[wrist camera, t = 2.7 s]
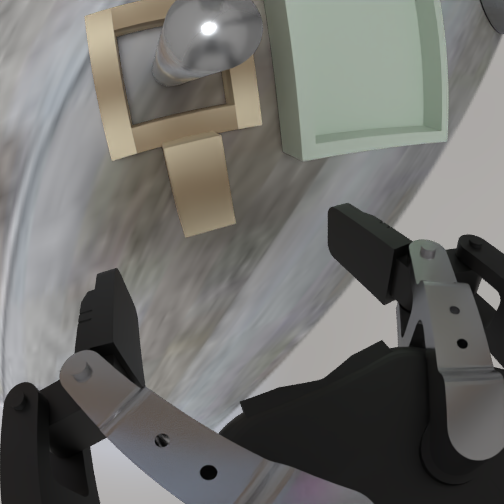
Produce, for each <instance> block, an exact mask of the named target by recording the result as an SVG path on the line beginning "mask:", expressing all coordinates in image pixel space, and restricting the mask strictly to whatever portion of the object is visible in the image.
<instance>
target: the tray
mask: <svg viewBox="0 0 504 504" xmlns="http://www.w3.org/2000/svg"><path fill="white" fill-rule="evenodd" d="M264 5H265V11H266V18H267V25H268V32H269V39H270V46H271V54H272V61H273V69H274V77H275V86H276V94H277V103H278V112H279V121H280V130H281V140H282V150H283V152H284V153H286V154H288V155H290V156H293V157H295V158H297V159H299V160H301V161H308V160H314V159H319V158H325V157H331V156H337V155H343V154H349V153H355V152H362V151H369V150H376V149H383V148H391V147H399V146H407V145H416V144H425V143H435V142H447V135H448V67H447V52H446V41H445V32H444V24H443V17H442V10H441V4H440V0H264Z"/></svg>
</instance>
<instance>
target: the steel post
mask: <svg viewBox="0 0 504 504" xmlns="http://www.w3.org/2000/svg"><path fill="white" fill-rule="evenodd" d="M262 32H263V25H262V19H261V16H260V13H259V11H258V9H257V7H256V6H255V5H254V3H253V2H252V1H251V0H176V1H175V2H174V3H173V4H172V5H171V7H170V9H169V10H168V12H167V15H166V17H165V20H164V24H163V27H162V31H161V35H160V39H159V42H158V46H157V50H156V54H155V59H154V63H153V67H152V72H153V76H154V78H155V79H156V81H157V82H158V83H160V84H162V85H164V86H169V87H172V86H177V85H180V84H183V83H186V82H189V81H192V80H195V79H198V78H201V77H204V76H207V75H210V74H214V73H217V72H221V71H224V70H228V69H231V68H234V67H236V66H238V65H240V64H242V63H243V62H245V61H246V60H247V59H249V58H250V57H251V56H252V55H253V53H254V52H255V51H256V49H257V47H258V46H259V44H260V41H261V38H262Z"/></svg>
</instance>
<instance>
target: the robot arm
mask: <svg viewBox="0 0 504 504" xmlns="http://www.w3.org/2000/svg"><path fill="white" fill-rule="evenodd" d="M481 1H482V4H483V7H484V10H485V12H486V15H487V17H488V19H489V21H490V22H491V24H492V26H493V27H494V28H495V29H496V30H497V31H498V32H499V33H501V34H504V0H481ZM328 247H329V250H330V253H331V255H332V256H333V257H334V258H335V259H336V260H337V261H338V262H339V263H340V264H341V265H342V266H343V267H344V268H345V269H346V270H348V271H349V272H350V273H351V274H352V275H353V276H354V277H355V278H356V279H357V280H358V281H359V282H360V283H361V284H362V285H363V286H365V287H366V288H367V289H368V290H369V291H370V292H371V293H372V294H373V295H374V296H375V297H376V298H377V299H378V300H379V301H380V302H381V303H382V304H383V305H385V304H388V303H390V302H391V301H394V300H397V301H398V303H397V307H396V314H397V332H398V347H395V348H390V349H389V347H388V346H387V345H386V344H385V343H384V342H383V341H382V340H381V341H379V342H377V343H375V344H373V345H371V346H370V347H368V348H366V349H364V350H362V351H360V352H358V353H356V354H354V355H352V356H351V357H349V358H348V359H347V360H346V361H345V362H344V363H342V364H341V365H340V366H339V367H337V368H336V369H335V370H334V371H332V372H331V373H330V374H329V375H328V376H326V377H325V378H323V379H321V380H317V381H312V382H307V383H302V384H296V385H291V386H285V387H279V388H276V389H274V390H271V391H269V392H266V393H263V394H260V395H258V396H255V397H252V398H249V399H246V400H243V401H240V404H241V407H242V410H243V413H241V414H240V415H238V416H237V417H235V418H234V419H233V420H232V421H230V422H229V423H228V424H227V425H226V426H225V427H224V428H223V429H222V430H221V431H220V432H219V434H218V433H216V432H214V431H213V430H211V429H209V428H208V427H206V426H204V425H203V424H201V423H199V422H198V421H196V420H195V419H193V418H191V417H190V416H188V415H187V414H185V413H184V412H182V411H181V410H179V409H178V408H176V407H175V406H173V405H172V404H170V403H169V402H167V401H166V400H164V399H163V398H162V397H160V396H159V395H157V394H156V393H155V392H153V391H152V390H150V389H149V388H147V387H145V380H144V373H143V365H142V357H141V348H140V338H139V327H138V317H137V312H136V309H135V306H134V303H133V301H132V299H131V296H130V294H129V292H128V290H127V287H126V285H125V283H124V281H123V278H122V276H121V274H120V272H119V270H118V269H117V268H115V269H112V270H108V271H105V272H102V273H99V274H97V278H96V284H95V290H92V291H89V292H88V293H87V294H86V296H85V297H84V299H83V301H82V302H81V308H80V315H79V321H78V322H79V324H78V328H77V336H76V344H75V353H74V354H73V355H72V356H71V357H69V358H68V359H67V360H66V361H65V363H64V364H63V366H62V368H61V370H60V376H59V378H60V380H58V381H57V382H55V383H53V384H51V385H49V386H48V387H46V388H44V389H42V390H40V391H39V390H38V389H37V388H36V387H35V386H34V385H33V384H31V383H28V382H24V383H20V384H18V385H16V386H15V387H13V388H12V389H11V390H10V392H9V393H8V395H7V396H6V399H5V402H4V407H3V417H2V428H1V444H0V488H1V501H2V504H100V500H99V496H98V491H97V487H96V481H95V475H94V470H93V463H92V457H91V450H90V446H92V445H94V444H96V443H97V442H99V441H101V440H103V439H105V438H108V439H109V440H110V441H111V442H112V443H113V444H114V445H115V446H116V447H117V448H118V449H119V450H120V451H121V452H122V453H123V454H124V455H125V456H127V457H128V458H129V459H130V460H131V461H132V462H133V463H134V464H135V465H137V466H138V467H139V468H140V469H141V470H142V471H144V472H145V473H146V474H147V475H148V476H150V477H151V478H152V479H153V480H155V481H156V482H157V483H159V485H161V486H162V487H163V488H165V489H166V490H167V491H169V492H170V493H171V494H173V495H174V496H175V497H177V498H178V499H179V500H181V501H182V502H184V503H185V504H504V369H500V368H495V367H493V363H492V359H491V355H490V353H491V354H492V355H493V356H494V358H495V359H497V361H498V362H499V363H500V364H501V365H502V366H503V368H504V254H503V253H502V252H500V251H499V250H498V249H496V248H495V247H494V246H492V245H491V244H489V243H488V242H486V241H485V240H484V239H482V238H480V237H477V236H474V235H462V236H461V237H460V238H459V240H458V245H457V248H456V249H449V250H445V249H444V248H443V247H442V246H441V245H440V244H438V243H436V242H433V241H430V240H416V241H411V240H409V239H408V238H407V237H405V236H404V235H402V234H401V233H399V232H398V231H396V230H395V229H393V228H392V227H391V228H390V226H389V225H387V224H386V223H383V222H382V221H381V220H379V219H378V218H376V217H375V216H373V215H370V214H367V213H364V212H362V211H360V210H359V209H357V208H356V207H354V206H352V205H351V204H349V203H345V204H341V205H337V206H334V207H331V208H330V209H329V211H328ZM482 278H483V279H484V280H485V281H487V282H488V283H489V284H490V285H491V286H492V287H494V288H495V289H496V290H497V291H498V292H499V295H500V299H501V301H500V305H499V307H498V309H497V311H496V310H495V309H494V308H493V307H492V306H491V305H489V304H488V303H487V302H486V301H485V300H484V299H483V298H482V297H481V296H479V295H478V294H477V293H476V292H477V290H478V287H479V284H480V281H481V279H482Z"/></svg>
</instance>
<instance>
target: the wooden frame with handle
mask: <svg viewBox="0 0 504 504" xmlns="http://www.w3.org/2000/svg"><path fill="white" fill-rule="evenodd" d="M175 1H176V0H141V1H137V2H132V3H128V4H124V5H120V6H117V7H113V8H109V9H106V10H103V11H99V12H96V13H93V14H90V15H87V16H85V24H86V32H87V40H88V47H89V54H90V61H91V67H92V73H93V78H94V84H95V89H96V94H97V99H98V104H99V109H100V113H101V118H102V122H103V127H104V131H105V135H106V139H107V143H108V147H109V151H110V155H111V159H112V161H114V160H117V159H120V158H124V157H127V156H130V155H133V154H137V153H140V152H144V151H147V150H151V149H154V148H158V147H162V149H163V154H164V158H165V162H166V167H167V171H168V175H169V180H170V184H171V188H172V192H173V196H174V200H175V204H176V208H177V212H178V216H179V219H180V222H181V225H182V228H183V232H184V235H185V238H187V237H190V236H194V235H197V234H201V233H205V232H208V231H212V230H215V229H219V228H222V227H226V226H230V225H233V224H236V221H235V215H234V209H233V203H232V197H231V191H230V185H229V179H228V173H227V167H226V161H225V155H224V149H223V142H222V136H221V135H220V134H218V133H222V132H227V131H232V130H237V129H242V128H248V127H254V126H260V125H262V118H261V110H260V102H259V94H258V87H257V79H256V72H255V64H254V57H253V55H252V56H251V57H250V58H249V59H247V60H246V61H245V62H243V63H242V64H240V65H238V66H236V67H234V68H231V69H228V70H224V71H221V72H222V79H223V86H224V92H225V99H226V104H222V105H217V106H211V107H206V108H201V109H196V110H191V111H187V112H182V113H178V114H174V115H169V116H165V117H161V118H157V119H154V120H150V121H146V122H142V123H139V124H135V125H133V124H132V120H131V115H130V110H129V105H128V100H127V95H126V90H125V85H124V79H123V74H122V68H121V62H120V56H119V49H118V43H117V37H118V36H122V35H125V34H129V33H133V32H137V31H141V30H146V29H150V28H155V27H160V26H163V24H164V20H165V17H166V15H167V12H168V10H169V9H170V7H171V5H172V4H173V3H174V2H175Z"/></svg>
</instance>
